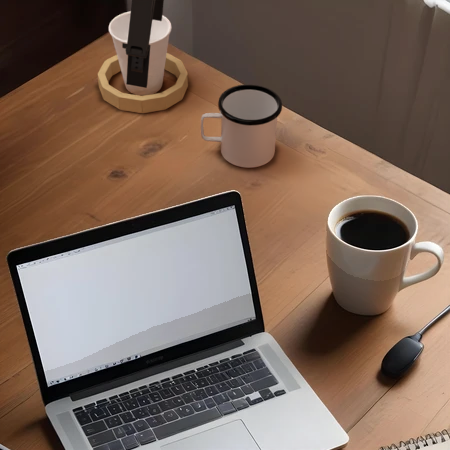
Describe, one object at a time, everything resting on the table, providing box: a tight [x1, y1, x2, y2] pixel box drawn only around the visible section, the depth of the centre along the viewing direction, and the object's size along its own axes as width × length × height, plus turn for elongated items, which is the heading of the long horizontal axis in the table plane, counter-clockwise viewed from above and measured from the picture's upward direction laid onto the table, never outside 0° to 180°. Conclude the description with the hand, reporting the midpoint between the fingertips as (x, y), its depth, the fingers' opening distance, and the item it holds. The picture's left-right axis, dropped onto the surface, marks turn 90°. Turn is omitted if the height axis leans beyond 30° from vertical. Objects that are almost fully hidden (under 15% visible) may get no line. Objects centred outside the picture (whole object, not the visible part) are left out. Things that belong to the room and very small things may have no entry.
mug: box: [200, 83, 283, 168], centre depth 126 cm, size 12×10×9 cm
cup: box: [108, 10, 172, 96], centre depth 136 cm, size 10×10×11 cm
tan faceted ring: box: [97, 52, 189, 114], centre depth 139 cm, size 14×14×2 cm
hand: (144, 50), depth 115 cm, fingers open, 13 cm apart
